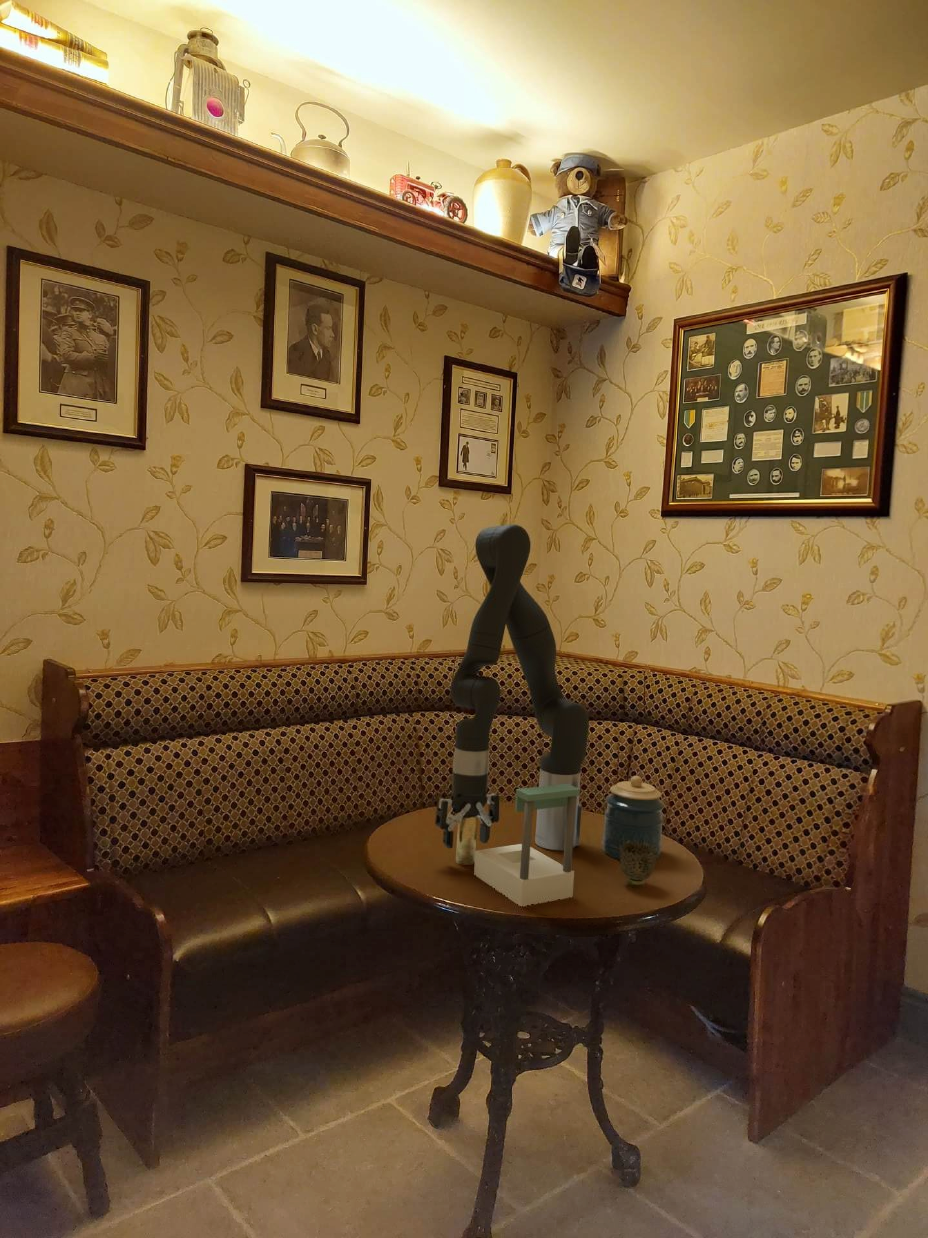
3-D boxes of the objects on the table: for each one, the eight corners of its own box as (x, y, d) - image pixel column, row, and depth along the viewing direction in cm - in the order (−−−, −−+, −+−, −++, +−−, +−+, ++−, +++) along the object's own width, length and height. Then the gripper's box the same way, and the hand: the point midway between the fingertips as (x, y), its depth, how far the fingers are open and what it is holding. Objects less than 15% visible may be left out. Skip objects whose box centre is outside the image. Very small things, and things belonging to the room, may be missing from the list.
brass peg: (468, 857, 180) (471, 811, 180) (478, 863, 177) (481, 817, 176) (452, 859, 178) (455, 813, 178) (461, 866, 175) (464, 819, 174)
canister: (666, 865, 183) (673, 785, 181) (607, 862, 183) (613, 782, 181) (653, 844, 196) (658, 770, 194) (597, 841, 196) (602, 767, 194)
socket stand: (523, 866, 177) (529, 767, 175) (572, 897, 162) (580, 789, 161) (474, 874, 171) (480, 772, 169) (520, 907, 156) (528, 795, 154)
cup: (628, 875, 175) (630, 837, 175) (660, 885, 171) (663, 847, 170) (610, 884, 170) (613, 846, 169) (643, 895, 165) (646, 855, 164)
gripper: (490, 762, 183) (485, 835, 184) (432, 767, 176) (427, 843, 177) (508, 771, 177) (504, 846, 178) (449, 776, 169) (445, 855, 171)
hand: (466, 844), depth 177 cm, fingers open, 8 cm apart
